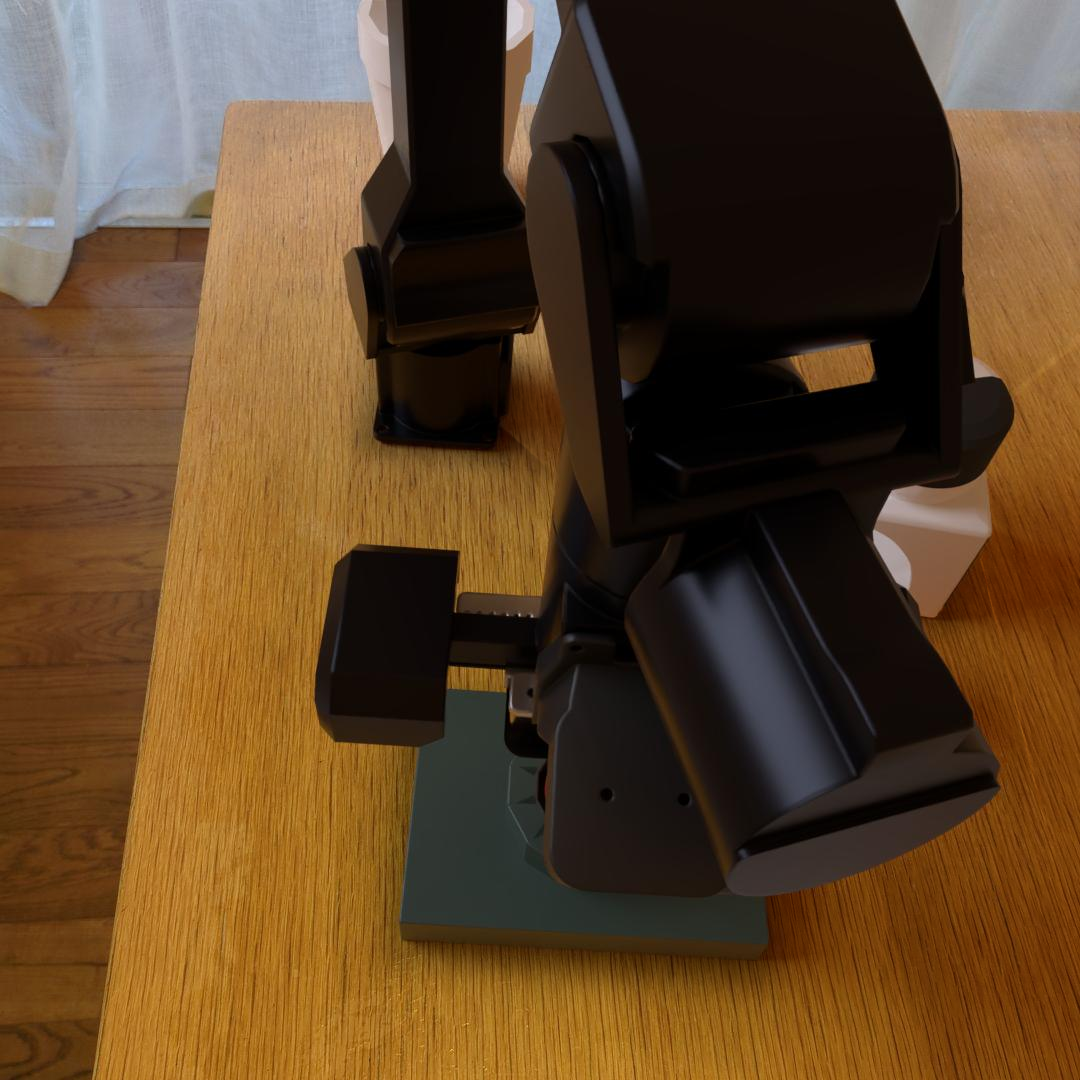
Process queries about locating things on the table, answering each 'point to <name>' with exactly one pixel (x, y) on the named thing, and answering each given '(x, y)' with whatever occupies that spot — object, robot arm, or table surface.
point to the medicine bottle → (951, 499)
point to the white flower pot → (378, 64)
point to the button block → (531, 861)
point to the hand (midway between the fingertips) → (596, 768)
